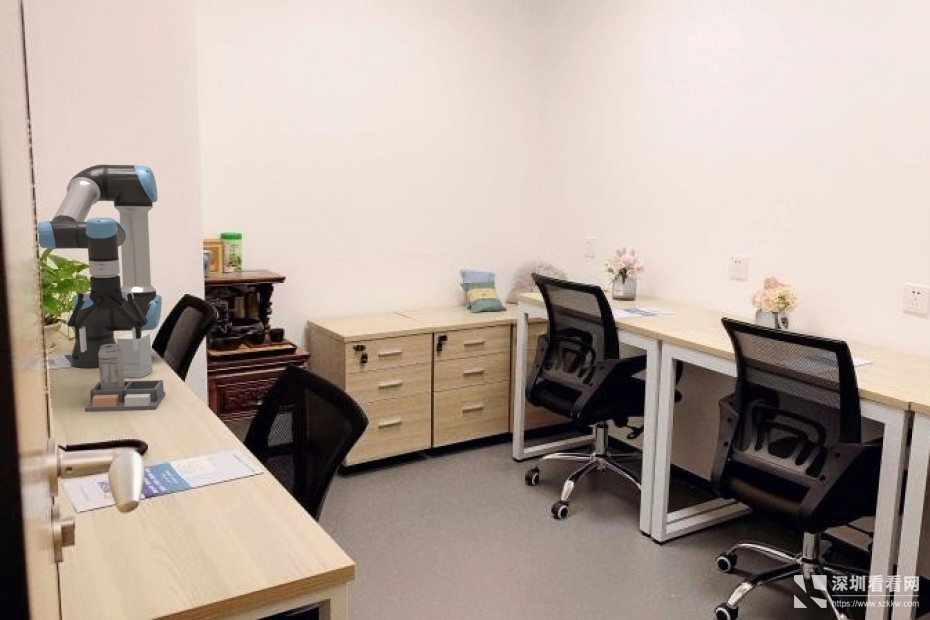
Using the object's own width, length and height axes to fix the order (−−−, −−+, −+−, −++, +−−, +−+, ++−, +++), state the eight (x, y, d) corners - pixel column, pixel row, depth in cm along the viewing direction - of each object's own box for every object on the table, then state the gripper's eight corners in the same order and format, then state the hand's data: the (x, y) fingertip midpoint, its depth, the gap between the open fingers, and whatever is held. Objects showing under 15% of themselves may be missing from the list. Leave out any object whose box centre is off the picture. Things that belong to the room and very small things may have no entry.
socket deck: (98, 396, 219) (97, 381, 218) (165, 395, 222) (164, 380, 222) (85, 411, 207) (84, 395, 206) (155, 409, 210) (154, 393, 209)
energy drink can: (129, 394, 218) (126, 343, 215) (117, 401, 212) (113, 348, 209) (109, 393, 219) (106, 342, 216) (97, 400, 213) (93, 347, 210)
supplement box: (153, 372, 245) (151, 333, 243) (141, 378, 238) (138, 338, 235) (131, 370, 246) (128, 332, 243) (118, 377, 239) (116, 337, 236)
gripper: (50, 277, 203) (57, 354, 207) (150, 277, 207) (154, 353, 212) (60, 272, 210) (66, 347, 215) (156, 273, 215) (160, 346, 219)
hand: (110, 350), depth 213 cm, fingers open, 13 cm apart
